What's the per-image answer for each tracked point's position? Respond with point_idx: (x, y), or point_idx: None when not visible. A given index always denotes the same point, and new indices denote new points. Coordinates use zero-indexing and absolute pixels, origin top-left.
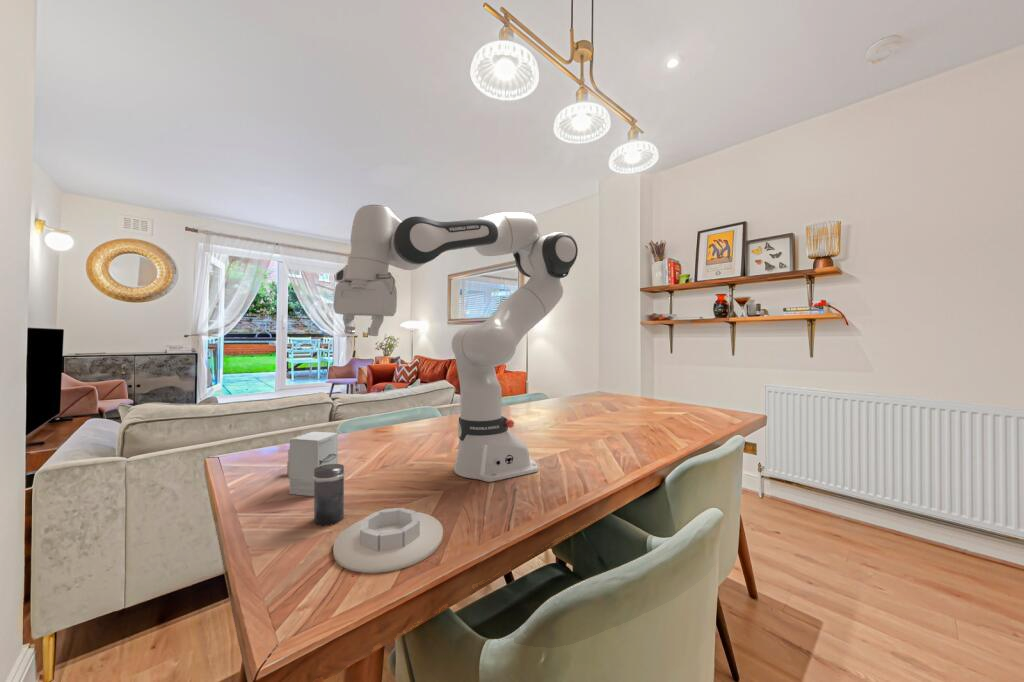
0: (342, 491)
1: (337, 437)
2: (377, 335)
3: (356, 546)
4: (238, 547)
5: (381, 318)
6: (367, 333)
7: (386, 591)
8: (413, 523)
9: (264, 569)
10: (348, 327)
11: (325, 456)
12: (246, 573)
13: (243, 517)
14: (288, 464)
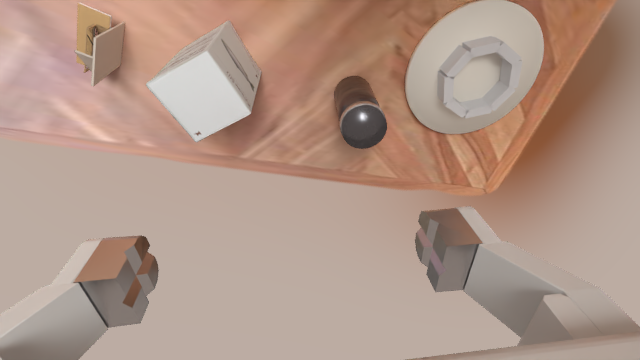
0: (376, 100)
1: (210, 48)
2: (469, 207)
3: (453, 113)
4: (332, 175)
5: (611, 326)
6: (419, 256)
7: (523, 123)
8: (516, 67)
9: (393, 171)
10: (141, 312)
11: (243, 76)
12: (385, 181)
13: (259, 156)
14: (108, 73)
